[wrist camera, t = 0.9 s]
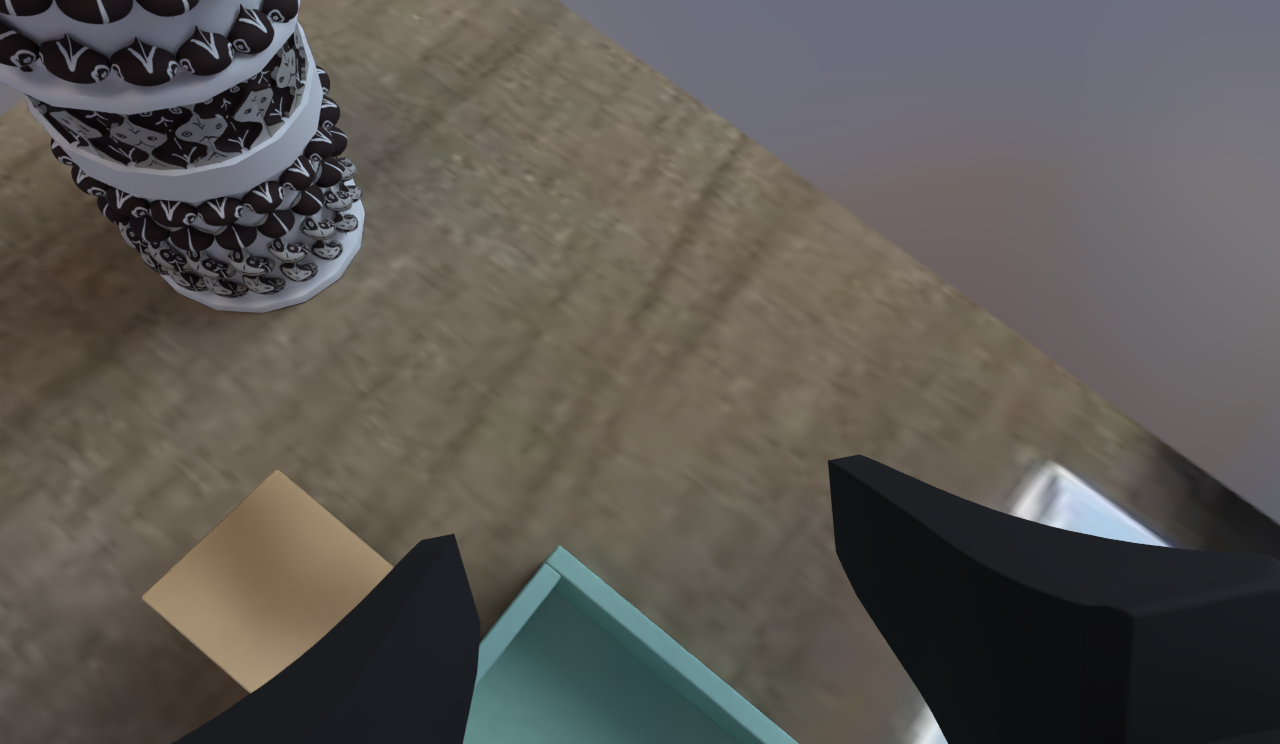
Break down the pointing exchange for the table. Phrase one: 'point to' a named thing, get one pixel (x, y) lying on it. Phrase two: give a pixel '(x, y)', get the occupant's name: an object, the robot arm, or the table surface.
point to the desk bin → (598, 674)
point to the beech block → (267, 582)
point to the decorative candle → (196, 138)
